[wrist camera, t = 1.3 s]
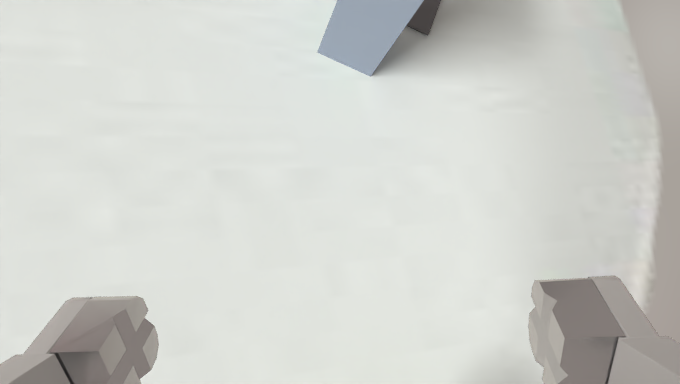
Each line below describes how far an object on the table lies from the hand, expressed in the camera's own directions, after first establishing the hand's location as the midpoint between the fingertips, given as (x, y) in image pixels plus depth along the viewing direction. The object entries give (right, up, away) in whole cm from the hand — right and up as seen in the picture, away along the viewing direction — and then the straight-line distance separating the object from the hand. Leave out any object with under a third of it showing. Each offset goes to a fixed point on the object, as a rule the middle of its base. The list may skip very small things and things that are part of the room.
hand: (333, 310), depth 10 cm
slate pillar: (+1, +16, +33) cm, 36 cm away
